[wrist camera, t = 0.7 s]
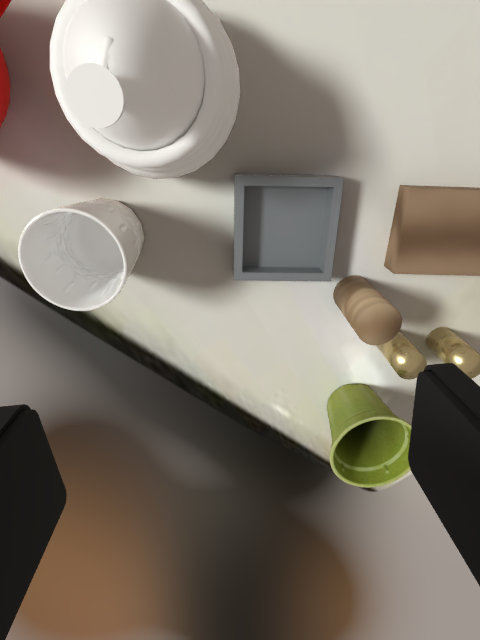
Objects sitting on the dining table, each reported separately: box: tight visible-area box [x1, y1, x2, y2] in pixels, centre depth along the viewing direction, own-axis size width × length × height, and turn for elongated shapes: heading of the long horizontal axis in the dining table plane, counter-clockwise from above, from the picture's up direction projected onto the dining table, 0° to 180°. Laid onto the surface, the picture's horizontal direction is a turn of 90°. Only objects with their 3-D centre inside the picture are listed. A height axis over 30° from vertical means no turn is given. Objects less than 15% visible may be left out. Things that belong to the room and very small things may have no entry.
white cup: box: [18, 199, 144, 311], centre depth 33 cm, size 8×8×10 cm
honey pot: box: [50, 0, 240, 179], centre depth 25 cm, size 13×13×18 cm
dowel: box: [333, 275, 402, 345], centre depth 38 cm, size 4×4×8 cm
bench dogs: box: [376, 327, 480, 379], centre depth 41 cm, size 3×9×6 cm, turn 89°
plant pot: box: [327, 384, 411, 487], centre depth 43 cm, size 9×9×9 cm
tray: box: [233, 174, 344, 281], centre depth 37 cm, size 10×10×2 cm
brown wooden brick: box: [384, 185, 480, 276], centre depth 38 cm, size 8×10×3 cm
